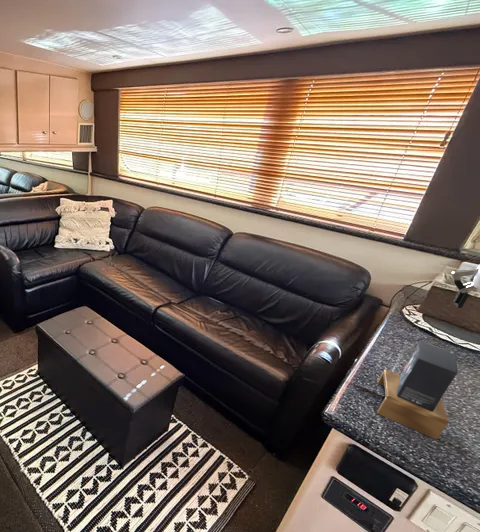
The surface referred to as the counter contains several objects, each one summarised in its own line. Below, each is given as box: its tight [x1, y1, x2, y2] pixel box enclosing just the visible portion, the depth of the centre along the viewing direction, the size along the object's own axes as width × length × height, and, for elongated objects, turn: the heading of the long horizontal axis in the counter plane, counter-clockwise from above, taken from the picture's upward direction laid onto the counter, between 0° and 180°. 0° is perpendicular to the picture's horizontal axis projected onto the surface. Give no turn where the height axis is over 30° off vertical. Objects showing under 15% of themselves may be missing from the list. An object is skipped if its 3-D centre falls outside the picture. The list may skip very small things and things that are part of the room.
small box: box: [397, 340, 459, 412], centre depth 81 cm, size 13×7×12 cm, turn 133°
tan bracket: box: [377, 368, 450, 440], centre depth 84 cm, size 11×15×6 cm
